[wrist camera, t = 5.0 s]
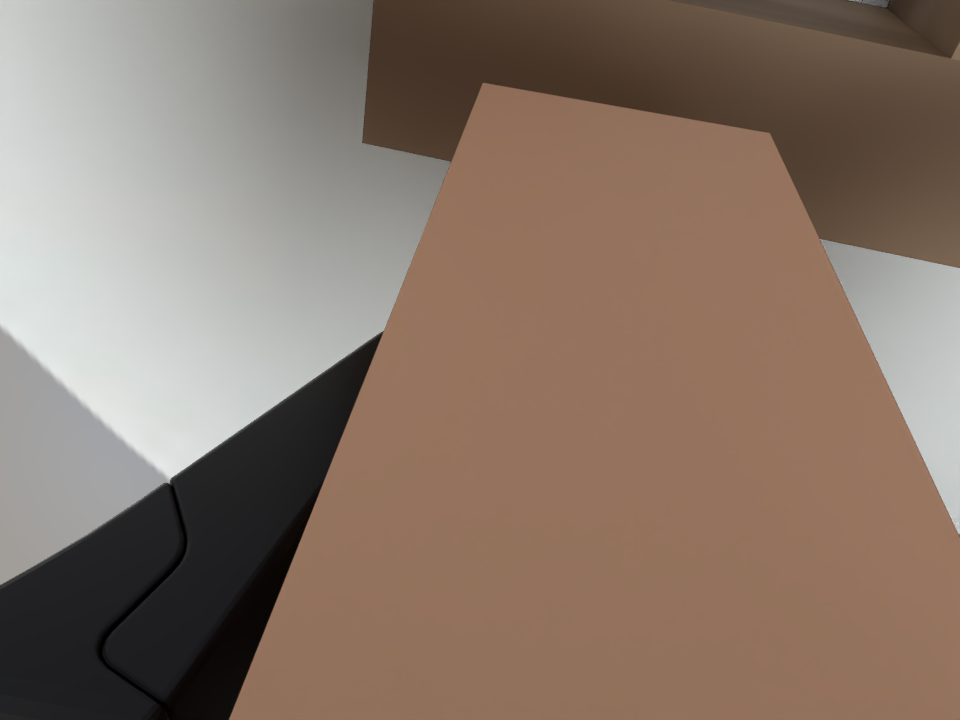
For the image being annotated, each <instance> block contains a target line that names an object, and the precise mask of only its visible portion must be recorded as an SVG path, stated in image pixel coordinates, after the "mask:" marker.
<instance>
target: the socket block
mask: <svg viewBox="0 0 960 720" xmlns="http://www.w3.org/2000/svg"><path fill="white" fill-rule="evenodd" d="M483 83H487V84H493V85H498V86H504V87H510V88H516V89H521V90H527V91H533V92H538V93H544V94H550V95H555V96H561V97H567V98H572V99H578V100H584V101H589V102H595V103H601V104H607V105H612V106H618V107H624V108H629V109H635V110H641V111H646V112H652V113H658V114H663V115H669V116H675V117H680V118H686V119H692V120H698V121H703V122H709V123H715V124H720V125H726V126H732V127H737V128H743V129H749V130H754V131H760V132H766V133H770V135H771V137H772V139H773V141H774V143H775V145H776V147H777V150H778V152H779V154H780V156H781V158H782V160H783V162H784V164H785V167H786V169H787V171H788V173H789V175H790V177H791V179H792V181H793V184H794V186H795V188H796V190H797V192H798V194H799V196H800V199H801V201H802V203H803V205H804V207H805V209H806V211H807V213H808V216H809V218H810V220H811V222H812V224H813V226H814V228H815V230H816V233H817V235H818V237H819V239H824V240H829V241H833V242H838V243H843V244H848V245H853V246H857V247H862V248H867V249H872V250H876V251H881V252H886V253H891V254H895V255H900V256H905V257H910V258H915V259H919V260H924V261H929V262H934V263H938V264H943V265H948V266H953V267H957V268H960V0H890V3H889V5H888V7H887V8H882V7H877V6H872V5H867V4H862V3H858V2H853V1H848V0H374V3H373V15H372V28H371V40H370V53H369V66H368V78H367V91H366V103H365V116H364V128H363V141H362V143H366V144H371V145H375V146H380V147H385V148H390V149H394V150H399V151H404V152H409V153H414V154H418V155H423V156H428V157H433V158H437V159H442V160H447V161H452V159H453V157H454V154H455V152H456V149H457V147H458V144H459V142H460V139H461V137H462V134H463V132H464V129H465V127H466V124H467V121H468V119H469V116H470V114H471V111H472V109H473V106H474V104H475V101H476V99H477V96H478V94H479V91H480V89H481V86H482V84H483Z"/></svg>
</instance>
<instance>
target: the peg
mask: <svg viewBox="0 0 960 720" xmlns="http://www.w3.org/2000/svg"><path fill="white" fill-rule="evenodd" d="M229 720H960V537H959V535H958V532H957V530H956V528H955V526H954V524H953V522H952V520H951V518H950V515H949V513H948V511H947V509H946V507H945V505H944V503H943V500H942V498H941V496H940V494H939V492H938V490H937V488H936V486H935V483H934V481H933V479H932V477H931V475H930V473H929V471H928V469H927V466H926V464H925V462H924V460H923V458H922V456H921V454H920V452H919V449H918V447H917V445H916V443H915V441H914V439H913V437H912V435H911V432H910V430H909V428H908V426H907V424H906V422H905V420H904V418H903V415H902V413H901V411H900V409H899V407H898V405H897V403H896V401H895V398H894V396H893V394H892V392H891V390H890V388H889V386H888V384H887V381H886V379H885V377H884V375H883V373H882V371H881V369H880V367H879V364H878V362H877V360H876V358H875V356H874V354H873V352H872V350H871V347H870V345H869V343H868V341H867V339H866V337H865V335H864V332H863V330H862V328H861V326H860V324H859V322H858V320H857V318H856V315H855V313H854V311H853V309H852V307H851V305H850V303H849V301H848V298H847V296H846V294H845V292H844V290H843V288H842V286H841V284H840V281H839V279H838V277H837V275H836V273H835V271H834V269H833V267H832V264H831V262H830V260H829V258H828V256H827V254H826V252H825V250H824V247H823V245H822V243H821V241H820V239H819V237H818V235H817V233H816V230H815V228H814V226H813V224H812V222H811V220H810V218H809V216H808V213H807V211H806V209H805V207H804V205H803V203H802V201H801V199H800V196H799V194H798V192H797V190H796V188H795V186H794V184H793V181H792V179H791V177H790V175H789V173H788V171H787V169H786V167H785V164H784V162H783V160H782V158H781V156H780V154H779V152H778V150H777V147H776V145H775V143H774V141H773V139H772V137H771V135H770V133H766V132H760V131H754V130H749V129H743V128H737V127H732V126H726V125H720V124H715V123H709V122H703V121H698V120H692V119H686V118H680V117H675V116H669V115H663V114H658V113H652V112H646V111H641V110H635V109H629V108H624V107H618V106H612V105H607V104H601V103H595V102H589V101H584V100H578V99H572V98H567V97H561V96H555V95H550V94H544V93H538V92H533V91H527V90H521V89H516V88H510V87H504V86H498V85H493V84H487V83H483V84H482V86H481V89H480V91H479V94H478V96H477V99H476V101H475V104H474V106H473V109H472V111H471V114H470V116H469V119H468V121H467V124H466V127H465V129H464V132H463V134H462V137H461V139H460V142H459V144H458V147H457V149H456V152H455V154H454V157H453V159H452V162H451V164H450V167H449V169H448V172H447V174H446V177H445V179H444V182H443V184H442V187H441V189H440V192H439V194H438V197H437V199H436V202H435V204H434V207H433V209H432V212H431V214H430V217H429V219H428V222H427V224H426V227H425V229H424V232H423V234H422V237H421V239H420V242H419V244H418V247H417V249H416V252H415V254H414V257H413V259H412V262H411V264H410V267H409V269H408V272H407V275H406V277H405V280H404V282H403V285H402V287H401V290H400V292H399V295H398V297H397V300H396V302H395V305H394V307H393V310H392V312H391V315H390V317H389V320H388V322H387V325H386V327H385V330H384V332H383V335H382V337H381V340H380V342H379V345H378V347H377V350H376V352H375V355H374V357H373V360H372V362H371V365H370V367H369V370H368V372H367V375H366V377H365V380H364V382H363V385H362V387H361V390H360V392H359V395H358V397H357V400H356V402H355V405H354V407H353V410H352V412H351V415H350V418H349V420H348V423H347V425H346V428H345V430H344V433H343V435H342V438H341V440H340V443H339V445H338V448H337V450H336V453H335V455H334V458H333V460H332V463H331V465H330V468H329V470H328V473H327V475H326V478H325V480H324V483H323V485H322V488H321V490H320V493H319V495H318V498H317V500H316V503H315V505H314V508H313V510H312V513H311V515H310V518H309V520H308V523H307V525H306V528H305V530H304V533H303V535H302V538H301V540H300V543H299V545H298V548H297V550H296V553H295V555H294V558H293V560H292V563H291V566H290V568H289V571H288V573H287V576H286V578H285V581H284V583H283V586H282V588H281V591H280V593H279V596H278V598H277V601H276V603H275V606H274V608H273V611H272V613H271V616H270V618H269V621H268V623H267V626H266V628H265V631H264V633H263V636H262V638H261V641H260V643H259V646H258V648H257V651H256V653H255V656H254V658H253V661H252V663H251V666H250V668H249V671H248V673H247V676H246V678H245V681H244V683H243V686H242V688H241V691H240V693H239V696H238V698H237V701H236V703H235V706H234V709H233V711H232V714H231V716H230V719H229Z"/></svg>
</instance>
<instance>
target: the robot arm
mask: <svg viewBox="0 0 960 720" xmlns="http://www.w3.org/2000/svg"><path fill="white" fill-rule="evenodd" d="M383 332H384V331H382V332H381V333H379V334H378V335H376V336H375V337H373V338H372V339H371V340H369V341H368V342H366V343H365V344H363V345H362V346H361V347H359V348H358V349H356V350H355V351H353V352H352V353H350V354H349V355H348V356H346V357H345V358H343V359H342V360H340V361H339V362H338V363H336V364H335V365H333V366H332V367H330V368H329V369H327V370H326V371H325V372H323V373H322V374H320V375H319V376H317V377H316V378H315V379H313V380H312V381H310V382H309V383H307V384H306V385H304V386H303V387H302V388H300V389H299V390H297V391H296V392H294V393H293V394H292V395H290V396H289V397H287V398H286V399H284V400H283V401H282V402H280V403H279V404H277V405H276V406H274V407H273V408H271V409H270V410H269V411H267V412H266V413H264V414H263V415H261V416H260V417H259V418H257V419H256V420H254V421H253V422H251V423H250V424H248V425H247V426H246V427H244V428H243V429H241V430H240V431H238V432H237V433H236V434H234V435H233V436H231V437H230V438H228V439H227V440H225V441H224V442H223V443H221V444H220V445H218V446H217V447H215V448H214V449H213V450H211V451H210V452H208V453H207V454H205V455H204V456H203V457H201V458H200V459H198V460H197V461H195V462H194V463H192V464H191V465H190V466H188V467H187V468H185V469H184V470H182V471H181V472H180V473H178V474H177V475H175V476H174V477H172V478H171V480H170V484H169V483H163V484H162V485H160V486H159V487H157V488H156V489H155V490H153V491H152V492H150V493H149V494H147V495H146V496H145V497H143V498H142V499H141V500H139V501H137V502H136V503H134V504H133V505H131V506H130V507H128V508H127V509H125V510H124V511H122V512H121V513H119V514H118V515H116V516H115V517H113V518H112V519H110V520H109V521H107V522H106V523H104V524H102V525H101V526H99V527H98V528H97V529H95V530H93V531H92V532H90V533H89V534H87V535H86V536H84V537H82V538H80V539H79V540H77V541H75V542H74V543H72V544H70V545H69V546H67V547H65V548H64V549H62V550H60V551H59V552H57V553H55V554H54V555H52V556H50V557H48V558H47V559H45V560H43V561H42V562H40V563H38V564H37V565H35V566H33V567H32V568H30V569H28V570H26V571H25V572H23V573H21V574H19V575H18V576H16V577H14V578H12V579H10V580H9V581H7V582H5V583H3V584H1V585H0V720H229V719H230V716H231V714H232V711H233V709H234V706H235V703H236V701H237V698H238V696H239V693H240V691H241V688H242V686H243V683H244V681H245V678H246V676H247V673H248V671H249V668H250V666H251V663H252V661H253V658H254V656H255V653H256V651H257V648H258V646H259V643H260V641H261V638H262V636H263V633H264V631H265V628H266V626H267V623H268V621H269V618H270V616H271V613H272V611H273V608H274V606H275V603H276V601H277V598H278V596H279V593H280V591H281V588H282V586H283V583H284V581H285V578H286V576H287V573H288V571H289V568H290V566H291V563H292V560H293V558H294V555H295V553H296V550H297V548H298V545H299V543H300V540H301V538H302V535H303V533H304V530H305V528H306V525H307V523H308V520H309V518H310V515H311V513H312V510H313V508H314V505H315V503H316V500H317V498H318V495H319V493H320V490H321V488H322V485H323V483H324V480H325V478H326V475H327V473H328V470H329V468H330V465H331V463H332V460H333V458H334V455H335V453H336V450H337V448H338V445H339V443H340V440H341V438H342V435H343V433H344V430H345V428H346V425H347V423H348V420H349V418H350V415H351V412H352V410H353V407H354V405H355V402H356V400H357V397H358V395H359V392H360V390H361V387H362V385H363V382H364V380H365V377H366V375H367V372H368V370H369V367H370V365H371V362H372V360H373V357H374V355H375V352H376V350H377V347H378V345H379V342H380V340H381V337H382V335H383ZM958 535H959V534H958ZM959 537H960V535H959Z"/></svg>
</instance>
